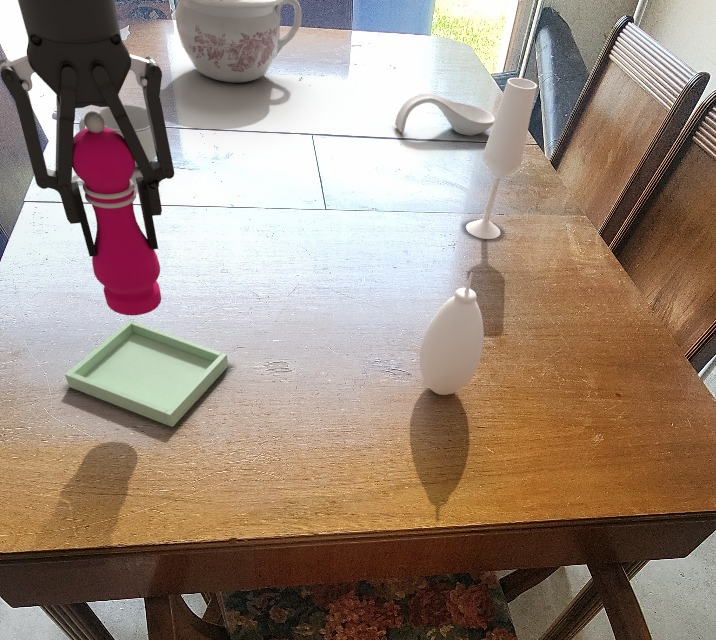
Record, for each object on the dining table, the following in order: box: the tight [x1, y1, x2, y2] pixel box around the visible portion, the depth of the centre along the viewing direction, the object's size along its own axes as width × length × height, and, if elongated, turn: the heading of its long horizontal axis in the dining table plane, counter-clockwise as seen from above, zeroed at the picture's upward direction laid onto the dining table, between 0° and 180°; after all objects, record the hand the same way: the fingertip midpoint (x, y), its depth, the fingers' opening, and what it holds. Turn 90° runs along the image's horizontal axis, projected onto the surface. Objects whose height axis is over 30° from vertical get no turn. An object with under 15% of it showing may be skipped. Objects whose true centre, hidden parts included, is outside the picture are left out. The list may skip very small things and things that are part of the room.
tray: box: [64, 319, 229, 428], centre depth 80 cm, size 16×14×2 cm
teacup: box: [78, 103, 157, 168], centre depth 115 cm, size 14×11×8 cm
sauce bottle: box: [419, 272, 485, 396], centre depth 78 cm, size 8×8×18 cm
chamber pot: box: [175, 0, 303, 84], centre depth 144 cm, size 28×28×21 cm
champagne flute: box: [465, 77, 538, 240], centre depth 105 cm, size 7×7×24 cm
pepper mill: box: [72, 110, 162, 316], centre depth 64 cm, size 7×7×20 cm
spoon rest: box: [394, 92, 496, 136], centre depth 140 cm, size 24×12×7 cm, turn 105°
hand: (122, 245), depth 67 cm, fingers closed on pepper mill, 6 cm apart
